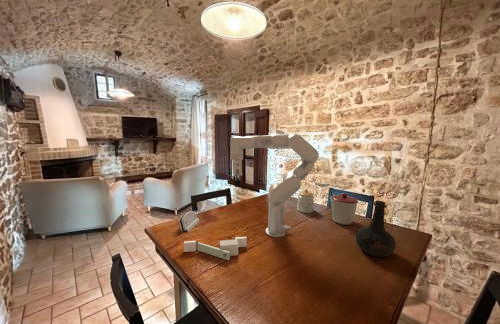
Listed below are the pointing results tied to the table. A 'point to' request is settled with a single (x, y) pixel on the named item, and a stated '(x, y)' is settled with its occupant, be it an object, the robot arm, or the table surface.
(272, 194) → the robot arm
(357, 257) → the table surface
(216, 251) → the door
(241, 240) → the notched cream block
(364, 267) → the table surface
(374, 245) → the glass bottle
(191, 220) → the hinge
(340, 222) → the canister
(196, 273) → the table surface
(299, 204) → the jar
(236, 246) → the block
